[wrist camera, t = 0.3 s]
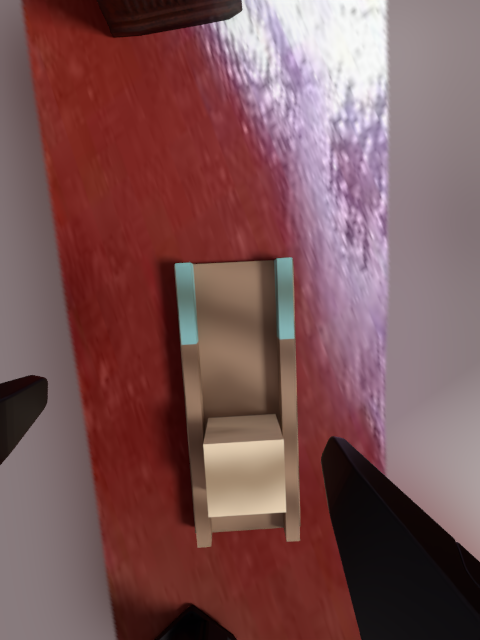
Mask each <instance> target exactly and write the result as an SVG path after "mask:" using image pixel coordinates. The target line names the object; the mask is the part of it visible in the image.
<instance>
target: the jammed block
mask: <svg viewBox="0 0 480 640" xmlns="http://www.w3.org/2000/svg"><path fill="white" fill-rule="evenodd" d="M203 448H204V462H205V476H206V489H207V503H208V517H222V516H237V515H252V514H267V513H282V512H286V491H285V461H284V439H283V436H282V433H281V430H280V426H279V423H278V420H277V417H276V414H267V415H250V416H234V417H217V418H208V423H207V428H206V433H205V438H204V443H203Z"/></svg>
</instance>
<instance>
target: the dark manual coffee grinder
mask: <svg viewBox="0 0 480 640" xmlns="http://www.w3.org/2000/svg"><path fill="white" fill-rule="evenodd" d="M97 2H98V4H99V6H100V9H101V11H102V13H103V15H104V17H105V19H106V21H107V24H108V26H109V28H110V31H111V34H112V35H113V36H114V37H123V36H138V35H145V34H150V33H156V32H162V31H167V30H173V29H178V28H184V27H190V26H195V25H201V24H206V23H211V22H216V21H221V20H226V19H230V18H232V17H233V16H235V15H236V14H238V13H240V12H241V11H242V1H241V0H97Z"/></svg>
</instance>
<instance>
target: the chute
mask: <svg viewBox="0 0 480 640" xmlns="http://www.w3.org/2000/svg"><path fill="white" fill-rule="evenodd" d="M174 272H175V285H176V297H177V310H178V322H179V335H180V347H181V360H182V372H183V385H184V397H185V410H186V422H187V435H188V447H189V460H190V472H191V485H192V497H193V510H194V522H195V533H196V534H197V547H198V548H199V547H211V541H212V532H224V531H239V530H254V529H269V528H284V532H285V536H286V541H287V542H288V541H300V528H299V526H300V494H299V457H298V420H297V382H296V345H295V308H294V271H293V259H292V258H277V259H275V260H269V261H249V262H229V263H209V264H192V263H175V265H174ZM267 414H276V417H277V420H278V423H279V426H280V430H281V433H282V436H283V439H284V461H285V491H286V512H282V513H267V514H252V515H237V516H222V517H208V503H207V489H206V476H205V462H204V448H203V443H204V438H205V433H206V428H207V423H208V418H217V417H234V416H250V415H267Z"/></svg>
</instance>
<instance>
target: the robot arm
mask: <svg viewBox="0 0 480 640" xmlns="http://www.w3.org/2000/svg"><path fill="white" fill-rule="evenodd" d="M47 394H48V381H47V379H46V378H44V377H40V376H35V375H30V376H26V377H22V378H19V379H15V380H12V381H8V382H5V383H1V384H0V465H1V464H2V462H3V461H4V460H5V459H6V458H7V457H8V456H9V454H10V453H11V452H12V450H13V449H14V448H15V447H16V445H17V444H18V443H19V441H20V440H21V439H22V437H23V436H24V435H25V433H26V432H27V431H28V429H29V428H30V427H31V426H32V424H33V423H34V422H35V420H36V419H37V418H38V416H39V415H40V414H41V412H42V411H43V410H44V408H45V406H46V404H47V399H48V395H47ZM321 464H322V471H323V477H324V483H325V490H326V496H327V502H328V508H329V513H330V518H331V522H332V526H333V530H334V534H335V538H336V541H337V545H338V549H339V553H340V557H341V561H342V565H343V569H344V573H345V577H346V581H347V585H348V588H349V592H350V596H351V600H352V604H353V608H354V612H355V616H356V620H357V624H358V628H359V632H360V636H361V639H362V640H480V562H479V561H478V560H477V559H476V558H475V557H474V556H473V555H472V554H470V553H469V552H468V551H467V550H466V549H465V548H464V547H463V546H461V544H460V543H458V542H456V541H455V539H454V538H453V537H452V536H451V535H450V534H448V533H447V532H446V531H445V530H444V529H443V528H442V527H441V526H440V525H439V524H437V523H436V522H435V521H434V520H433V519H432V518H431V517H430V516H429V515H428V514H426V513H425V512H424V511H423V510H422V509H421V508H420V507H419V506H418V505H417V504H415V503H414V502H413V501H412V500H411V499H410V498H409V497H408V496H407V495H405V494H404V493H403V492H402V491H401V490H400V489H399V488H398V487H397V486H396V485H395V484H393V483H392V482H391V481H390V480H389V479H388V478H387V477H386V476H385V475H384V474H382V473H381V472H380V471H379V470H378V469H377V468H376V467H375V466H374V465H373V464H371V463H370V462H369V461H368V460H367V459H366V458H365V457H364V456H363V455H362V454H360V453H359V452H358V451H357V450H356V449H355V448H354V447H353V446H352V445H351V444H349V443H348V442H347V441H346V440H345V439H343V438H340V437H335V436H332V437H330V438H329V440H328V442H327V444H326V447H325V449H324V451H323V453H322V457H321ZM156 640H237V639H236V638H235V637H234V636H232V635H231V634H230V633H229V632H227V631H226V630H225V629H223V628H222V627H221V626H219V625H218V624H217V623H215V622H214V621H213V620H212V619H210V618H209V617H208V616H206V615H205V614H204V613H202V612H201V611H200V610H198V609H197V608H196V607H194V606H190V607H188V608H187V609H186V610H185V611H184V612H183V613H182V614H181V615H180V616H179V617H178V618H177V619H176V620H175V621H174V622H173V623H172V624H171V625H170V626H169V627H168V628H167V629H166V630H165V631H164V632H163V633H162V634H161V635H160V636H159V637H158V638H157V639H156Z"/></svg>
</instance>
